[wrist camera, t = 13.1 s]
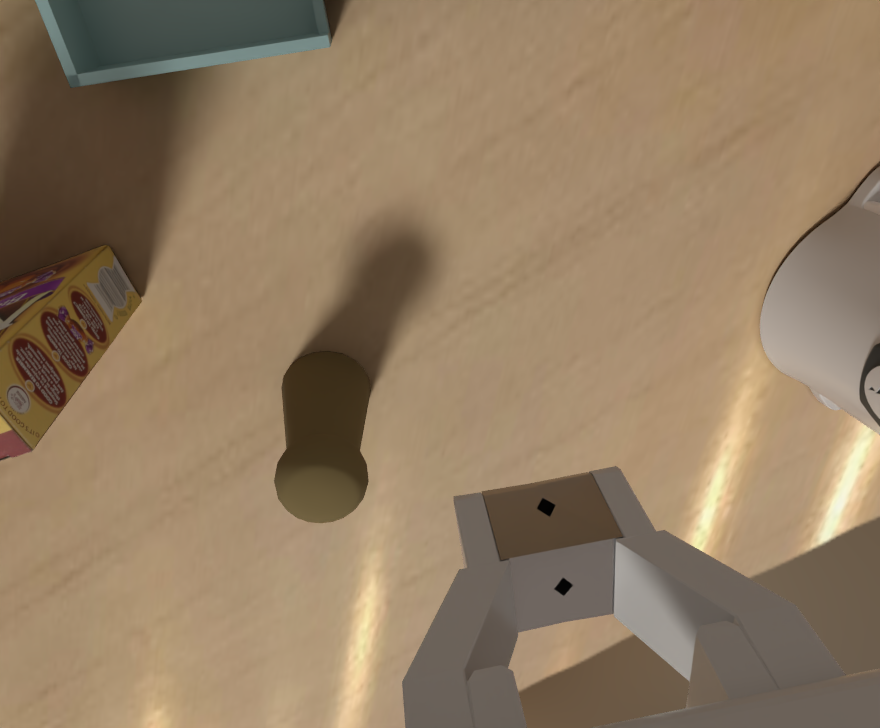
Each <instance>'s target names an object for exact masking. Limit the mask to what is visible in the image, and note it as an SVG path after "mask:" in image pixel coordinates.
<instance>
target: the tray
mask: <svg viewBox="0 0 880 728" xmlns="http://www.w3.org/2000/svg"><path fill="white" fill-rule="evenodd" d="M35 1H36V4H37V6H38V9H39V11H40V13H41V16H42V18H43V21H44V23H45V26H46V28H47V31H48V33H49V36H50V38H51V41H52V43H53V46H54V48H55V50H56V53H57V55H58V58H59V60H60V63H61V65H62V68H63V70H64V73H65V75H66V78H67V80H68V82H69V85H70V87H71V88H73V87H79V86H86V85H92V84H98V83H105V82H111V81H118V80H124V79H130V78H137V77H143V76H149V75H156V74H162V73H168V72H175V71H181V70H187V69H194V68H200V67H207V66H213V65H219V64H226V63H232V62H238V61H245V60H251V59H257V58H264V57H270V56H277V55H283V54H289V53H296V52H302V51H308V50H315V49H321V48H327V47H330V46H331V42H332V38H331V33H330V28H329V23H328V18H327V13H326V7H325V2H324V0H35Z"/></svg>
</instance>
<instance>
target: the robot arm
mask: <svg viewBox="0 0 880 728" xmlns="http://www.w3.org/2000/svg"><path fill="white" fill-rule="evenodd" d="M760 335H761V341H762V345H763V348H764V351H765V353H766V355H767V357H768V358H769V360H770V361H771V363H772V364H773V365H774V366H775V367H776V368H777V369H778V370H780V371H781V372H782V373H784V374H786V375H787V376H789V377H791V378H794V379H796V380H798V381H800V382H801V383H803V384H805V385H807V386H808V387H809V388H810V390H811V391H812V393H813V394H814V396H815V397H816V398H817V400H818V401H819V402H821V403H822V404H824V405H825V406H827V407H828V408H830V409H832V410H840V409H842V410H844V411H845V412H847V413H848V414H850V415H851V416H853V417H854V418H855V419H857V420H858V421H860V422H861V423H863V424H864V425H866V426H867V427H869V428H870V429H872V430H873V431H875V432H876V433H878V434H879V435H880V166H879V167H878V168H877V169H875V170H874V171H873V172H872V173H871V174H870V175H869V176H868V177H867V179H866V180H865V181H864V182H863V183H862V185H861V186H860V187H859V189H858V190H857V191H856V192H855V194H854V195H853V196H852V198H851V199H850V200H849V202H848V203H847V204H846V205H845V206H844V207H843V208H842V209H841V210H839V211H838V212H837V213H836V214H835V215H833V216H832V217H830V218H829V219H828V220H826V221H825V222H824V223H822V224H821V225H820V226H818V227H817V228H816V229H815V230H814V231H812V232H811V233H810V234H809V235H808V236H807V237H806V238H805V239H804V240H803V241H802V242H801V243H800V244H799V245H798V246H797V247H796V248H795V249H794V250H793V251H792V252H791V254H790V255H789V256H788V257H787V259H786V260H785V261H784V263H783V264H782V266H781V267H780V269H779V270H778V272H777V273H776V275H775V277H774V279H773V281H772V283H771V285H770V287H769V289H768V292H767V294H766V297H765V300H764V303H763V307H762V312H761V319H760ZM454 507H455V513H456V519H457V525H458V532H459V538H460V544H461V550H462V556H463V562H464V569H459V571H458V573H457V575H456V577H455V579H454V581H453V583H452V585H451V587H450V589H449V591H448V593H447V595H446V597H445V599H444V601H443V603H442V605H441V607H440V608H439V610H438V612H437V614H436V616H435V618H434V620H433V622H432V624H431V626H430V628H429V630H428V632H427V634H426V636H425V638H424V640H423V642H422V644H421V646H420V648H419V650H418V652H417V654H416V656H415V658H414V660H413V662H412V664H411V666H410V668H409V670H408V672H407V674H406V676H405V677H404V679H403V681H402V686H403V699H404V713H405V727H406V728H527V725H526V721H525V717H524V713H523V709H522V705H521V701H520V697H519V693H518V690H517V686H516V682H515V678H514V674H513V671H512V670H510V669H508V666H509V663H510V660H511V656H512V653H513V650H514V647H515V644H516V641H517V638H518V632H522V631H527V630H531V629H536V628H540V627H544V626H549V625H553V624H558V623H562V622H567V621H573V620H579V619H585V618H591V617H597V616H603V615H609V614H614V617H615V618H617V619H618V620H619V621H620V622H621V623H622V624H623V625H625V626H626V627H627V628H628V629H629V630H630V631H632V632H633V633H634V634H635V635H636V636H637V637H639V638H640V639H641V640H642V641H643V642H644V643H645V644H647V645H648V646H649V647H650V648H651V649H652V650H654V651H655V652H656V653H657V654H658V655H659V656H661V657H662V658H663V659H664V660H665V661H667V662H668V663H669V664H670V665H671V666H672V667H673V668H675V669H676V670H677V671H678V672H679V673H680V674H681V675H683V676H684V677H685V678H686V679H687V680H688V681H689V682H690V683H689V691H688V698H687V705H686V708H685V709H680V710H676V711H671V712H666V713H661V714H656V715H651V716H646V717H641V718H636V719H632V720H627V721H621V722H616V723H612V724H607V725H602V726H597V727H592V728H880V669H876V670H871V671H866V672H861V673H856V674H851V675H846V674H845V673H844V672H843V670H842V669H841V667H840V666H839V665H838V663H837V662H836V660H835V659H834V658H833V656H832V655H831V653H830V652H829V651H828V649H827V648H826V647H825V645H824V644H823V643H822V641H821V640H820V638H819V637H818V636H817V634H816V633H815V631H814V630H813V629H812V627H811V626H810V624H809V623H808V622H807V620H806V619H805V617H804V616H803V615H802V613H801V612H800V611H799V609H798V608H797V607H796V605H795V604H793V603H791V602H789V601H788V600H786V599H784V598H782V597H780V596H779V595H777V594H775V593H774V592H772V591H770V590H768V589H767V588H765V587H763V586H761V585H760V584H758V583H756V582H754V581H753V580H751V579H749V578H747V577H746V576H744V575H742V574H740V573H739V572H737V571H735V570H733V569H732V568H730V567H728V566H726V565H725V564H723V563H721V562H719V561H718V560H716V559H714V558H712V557H711V556H709V555H707V554H705V553H704V552H702V551H700V550H698V549H697V548H695V547H693V546H691V545H690V544H688V543H686V542H684V541H683V540H681V539H679V538H677V537H676V536H674V535H672V534H670V533H669V532H667V531H665V530H662V531H657V532H656V530H655V529H654V527H653V525H652V523H651V522H650V520H649V518H648V516H647V515H646V513H645V511H644V509H643V508H642V506H641V504H640V502H639V501H638V499H637V497H636V495H635V494H634V492H633V490H632V488H631V487H630V485H629V483H628V481H627V480H626V478H625V476H624V474H623V473H622V471H621V469H619V468H618V467H617V466H615V467H610V468H605V469H600V470H595V471H590V472H589V473H587V472H586V473H581V474H576V475H570V476H565V477H560V478H555V479H550V480H545V481H540V482H535V483H530V484H524V485H518V486H512V487H506V488H500V489H494V490H487V491H482V494H481V492H480V493H473V494H467V495H460V496H454Z"/></svg>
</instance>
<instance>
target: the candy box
mask: <svg viewBox="0 0 880 728" xmlns="http://www.w3.org/2000/svg"><path fill="white" fill-rule="evenodd" d="M141 302H142V300H141V298H140V296H139V295H138V293H137V292H136V290H135V288H134V287H133V285H132V284H131V282H130V280H129V279H128V277H127V275H126V274H125V272H124V271H123V269H122V267H121V265H120V264H119V262H118V260H117V259H116V257H115V255H114V253H113V252H112V250H111V248H110V247H109V246H108V245H103V246H100V247H98V248H95V249H92V250H90V251H87V252H85V253H82V254H79V255H77V256H74V257H71V258H69V259H66V260H63V261H61V262H58V263H55V264H52V265H49V266H46V267H44V268H41V269H38V270H35V271H32V272H29V273H27V274H24V275H21V276H18V277H15V278H12V279H9V280H6V281H3V282H1V283H0V461H3V460H5V459H7V458H10V457H17V456H20V455H22V454H25V453H29V452H31V451H33V450H34V448H35V447H36V445H37V444H38V443H39V441H40V440H41V438H42V437H43V436H44V434H45V433H46V432H47V430H48V429H49V427H50V426H51V425H52V423H53V422H54V421H55V419H56V418H57V416H58V415H59V414H60V412H61V411H62V410H63V408H64V407H65V406H66V404H67V403H68V401H69V400H70V399H71V397H72V396H73V395H74V393H75V392H76V391H77V389H78V388H79V387H80V385H81V384H82V382H83V381H84V380H85V378H86V377H87V376H88V374H89V373H90V371H91V370H92V369H93V367H94V366H95V365H96V363H97V362H98V361H99V360H100V358H101V357H102V355H103V354H104V353H105V351H106V350H107V349H108V347H109V346H110V345H111V343H112V342H113V341H114V339H115V338H116V336H117V335H118V333H119V332H120V331H121V329H122V328H123V327H124V325H125V324H126V322H127V321H128V320H129V318H130V317H131V315H132V314H133V313H134V311H135V310H136V309H137V308H138V306H139V305H140V303H141Z"/></svg>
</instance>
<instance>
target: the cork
mask: <svg viewBox="0 0 880 728" xmlns="http://www.w3.org/2000/svg"><path fill="white" fill-rule="evenodd" d="M370 391H371V390H370V381H369V378H368V376H367V374H366V372H365V370H364V368H363V367H362V366H360V365H359V364H358V363H357V362H356V361H355V360H354V359H352V358H350V357H348V356H346V355H344V354H341V353H335V352H330V351H325V352H314V353H311V354H309V355H306V356H304V357H301V358H300V359H298V360H297V361H296V362H295V363H293V364H292V365H291V366H290V367H289V369H288V370H287V372H286V374H285V375H284V378H283V383H282V399H283V411H284V424H285V436H286V448H287V449H286V450H285V452H284V453H283V455H282V456H281V458H280V460H279V462H278V464H277V469H276V474H275V480H274V482H275V487H276V491H277V496H278V499H279V500H280V502H281V503H282V504H283V506H284V507H285V508H286V510H287V511H288V512H290V513H291V514H293V515H294V516H295V517H297V518H299V519H302V520H304V521H307V522H314V523H326V522H333V521H336V520H339V519H341V518H344V517H345V516H347V515H348V514H350V513H351V512H352V511H354V510H355V509H356V508H357V506H358V505H359V504H360V502H361V501H362V500H363V498H364V495H365V492H366V488H367V485H368V472H367V464H366V462H365V460H364V458H363V456H362V454H361V452H360V446H361V441H362V435H363V430H364V424H365V419H366V413H367V408H368V402H369V397H370Z"/></svg>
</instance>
